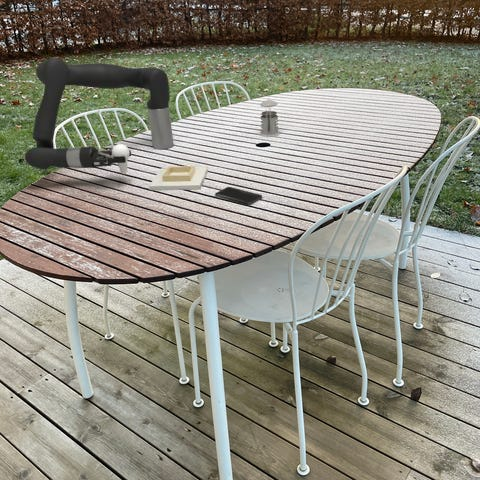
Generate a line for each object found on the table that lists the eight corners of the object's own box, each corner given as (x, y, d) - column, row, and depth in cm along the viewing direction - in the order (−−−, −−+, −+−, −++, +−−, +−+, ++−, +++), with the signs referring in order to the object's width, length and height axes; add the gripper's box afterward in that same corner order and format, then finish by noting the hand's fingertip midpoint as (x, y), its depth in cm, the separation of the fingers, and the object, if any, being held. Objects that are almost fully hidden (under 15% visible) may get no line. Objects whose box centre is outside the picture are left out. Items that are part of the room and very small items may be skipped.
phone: (248, 203, 149) (213, 193, 157) (249, 207, 149) (213, 197, 158) (263, 195, 154) (228, 186, 163) (263, 198, 155) (229, 189, 163)
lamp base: (161, 172, 181) (160, 163, 180) (207, 171, 179) (207, 162, 178) (149, 190, 165) (148, 180, 164) (200, 189, 164) (199, 179, 162)
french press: (280, 130, 223) (279, 75, 211) (279, 137, 213) (279, 80, 201) (259, 131, 224) (257, 76, 212) (258, 138, 214) (256, 81, 202)
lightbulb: (116, 178, 168) (110, 148, 163) (115, 172, 173) (110, 143, 168) (133, 175, 169) (128, 146, 164) (132, 169, 174) (127, 140, 169)
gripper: (72, 154, 161) (120, 152, 160) (87, 141, 174) (132, 139, 172) (77, 174, 165) (123, 173, 163) (92, 160, 178) (135, 159, 176)
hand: (127, 156), depth 168 cm, fingers closed on lightbulb, 6 cm apart
